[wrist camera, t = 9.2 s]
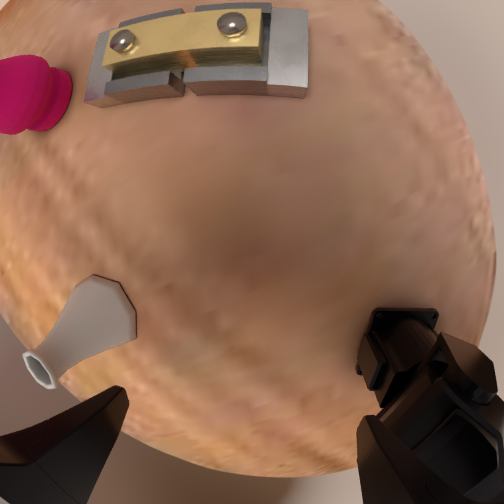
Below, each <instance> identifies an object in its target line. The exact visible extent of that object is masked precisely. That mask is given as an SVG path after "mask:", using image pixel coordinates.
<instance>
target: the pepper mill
mask: <svg viewBox="0 0 504 504" xmlns="http://www.w3.org/2000/svg"><path fill="white" fill-rule="evenodd" d="M71 92H72V82H71V78H70V76H69V74H68V73H67V72H65V71H63V70H60V69H57V68H53V67H51V68H50V67H49V65H48V63H47V61H46V60H45V59H43V58H42V57H38V56H34V55H19V56H14V57H10V58H6V59H2V60H0V133H3V134H10V135H13V134H18V133H20V132H22V131H24V130H25V129H26V128H27V129H29V130H35V131H46V130H48V129H50V128H52V127H53V126H54V125H55V124H56V123H57V122H58V121H59V120H60V118H61V117H62V115H63V114H64V112H65V110H66V108H67V106H68V103H69V101H70V97H71Z"/></svg>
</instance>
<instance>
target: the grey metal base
mask: <svg viewBox="0 0 504 504" xmlns="http://www.w3.org/2000/svg"><path fill="white" fill-rule="evenodd" d="M224 9H261V10H262V18H263V26H264V34H265V36H264V50H263V64H262V66H214V67H198V68H186V69H185V71H184V72H175V73H172V72H171V71H170V70H169V71H161V72H154V73H148V74H142V75H137V76H132V77H127V78H123V77H121V76H119V75H117V74H115V73H113V72H112V71H110V70H108V69H106V68H104V67H102V63H103V59H104V54H105V50H106V46H107V43H108V39H109V35H110V32H111V31H112V30H115V29H118V28H121V27H125V26H128V25H132V24H136V23H140V22H144V21H148V20H152V19H157V18H162V17H167V16H173V15H179V14H185V12H184V11H183V9H182V8H181V9H175V10H169V11H164V12H159V13H155V14H150V15H146V16H142V17H138V18H134V19H131V20H127V21H124V22H121V23H120V24H119V27H118V28H114V29H111V30H108V31H105V32H102V33H99V36H98V40H97V43H96V47H95V51H94V55H93V59H92V63H91V67H90V72H89V77H88V82H87V87H86V93H85V99H84V103H87V104H91V105H94V106H97V107H101V108H102V107H107V106H112V105H118V104H124V103H130V102H136V101H143V100H151V99H159V98H169V97H181V96H184V88H185V85H186V86H187V87H188V88H189V89H191V90H192V91H193V92H194V93H195V94H196V95H230V94H234V95H269V96H284V97H296V98H304V96H305V93H306V90H307V85H308V10H302V9H291V8H275V7H272V6H271V3H225V4H212V5H203V6H196V8H195V12H201V11H211V10H224Z"/></svg>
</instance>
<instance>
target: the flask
mask: <svg viewBox="0 0 504 504" xmlns="http://www.w3.org/2000/svg"><path fill="white" fill-rule="evenodd" d="M134 339H136V312H135V310H134V309H133V307H132V306H131V304H130V302H129V301H128V299H127V297H126V295H125V294H124V292H123V290H122V288H121V287H120V285H119V283H117V282H113V281H110V280H107V279H104V278H101V277H98V276H95V275H92V276H90V277H88V278H87V279H85V280H84V281H82V282H80V283H79V284H77V285H76V286H75V287H74V289H73V291H72V293H71V294H70V296H69V298H68V300H67V302H66V304H65V306H64V308H63V310H62V312H61V314H60V315H59V317H58V319H57V321H56V323H55V325H54V327H53V328H52V330H51V331H50V333H49V334H48V335H47V336H46V338H45V339H44V340H43V342H42V343H41V344H40V345H39V346H38V347H36V348H35V349H31V350H29V351H26V352H24V353H23V354H22V355H23V358H24V361H25V364H26V367H27V368H28V370H29V371H30V373H31V374H32V375H33V377H34V378H35V380H36V381H37V382H38V383H39V384H41V385H42V386H44V387H46V388H47V389H55V388H57V386H58V384H59V382H58V379H59V378H60V377H61V376H62V375H63V374H64V373H65V372H66V371H67V370H68V369H69V368H71V367H73V366H74V365H76V364H77V363H79V362H80V361H82V360H84V359H86V358H88V357H91V356H93V355H96V354H98V353H101V352H103V351H106V350H108V349H111V348H113V347H116V346H119V345H122V344H124V343H127V342H129V341H132V340H134Z"/></svg>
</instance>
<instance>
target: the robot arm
mask: <svg viewBox="0 0 504 504" xmlns="http://www.w3.org/2000/svg"><path fill="white" fill-rule="evenodd" d="M379 313H381V314H380V316H378V317H377V314H379ZM433 314H434V316H433V317H432V315H433ZM438 316H439V313H438V312H437V311H436V310H435V309H393V308H377V309H375V310H374V311H373V313H372V317H371V320H370V324H369V328H368V331H367V333H366V334H365V335H364V337H363V340H362V344H361V347H360V350H359V353H358V357H357V360H358V363H357V366H356V373H357V374H358V375H363V377H364V379H365V382H366V385H367V388H368V389H369V390H370V391H374V392H375V395H376V398H377V401H378V403H379V406H380V408H383V409H382V410H381V411H380V412H379V413H378V414H377V415H376V416H375V415H366V416H364V417H363V418H362V420H361V422H360V424H359V426H358V428H357V432H356V435H357V463H358V470H359V476H360V484H361V491H362V498H363V504H504V401H503V400H502V399H501V398H500V397H499V396H498V395H497V394H496V393H497V391H498V389H497V381H496V375H495V370H494V364H493V362H492V361H491V360H490V359H489V358H488V357H487V356H486V355H485V354H484V353H483V352H482V351H481V350H479V349H478V348H477V347H476V346H474V345H472V344H470V343H467V342H465V341H463V340H460V339H458V338H455V337H453V336H451V335H448V334H446V333H443V332H440V334H439V335H438V334H437V333H436V331H435V330H434V328H435V325H436V322H437V319H438ZM128 407H129V400H128V397H127V393H126V390H125V389H124V388H123V387H120V386H117V385H115V386H112V387H110V388H108V389H107V390H105V391H103V392H101V393H99V394H97V395H95V396H93V397H91V398H89V399H88V400H86V401H84V402H82V403H80V404H78V405H76V406H74V407H72V408H70V409H68V410H66V411H64V412H62V413H60V414H58V415H56V416H53V417H51V418H49V420H45V421H43V422H41V423H38V424H36V425H34V426H31V427H28V428H25V429H23V430H20V431H16V432H13V433H10V434H6V435H3V436H0V504H86V503H87V502H88V499H89V497H90V495H91V493H92V490H93V488H94V486H95V484H96V482H97V480H98V477H99V475H100V473H101V471H102V469H103V467H104V465H105V463H106V460H107V458H108V456H109V454H110V452H111V450H112V448H113V446H114V444H115V442H116V440H117V437H118V435H119V433H120V430H121V427H122V424H123V421H124V419H125V416H126V413H127V410H128Z"/></svg>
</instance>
